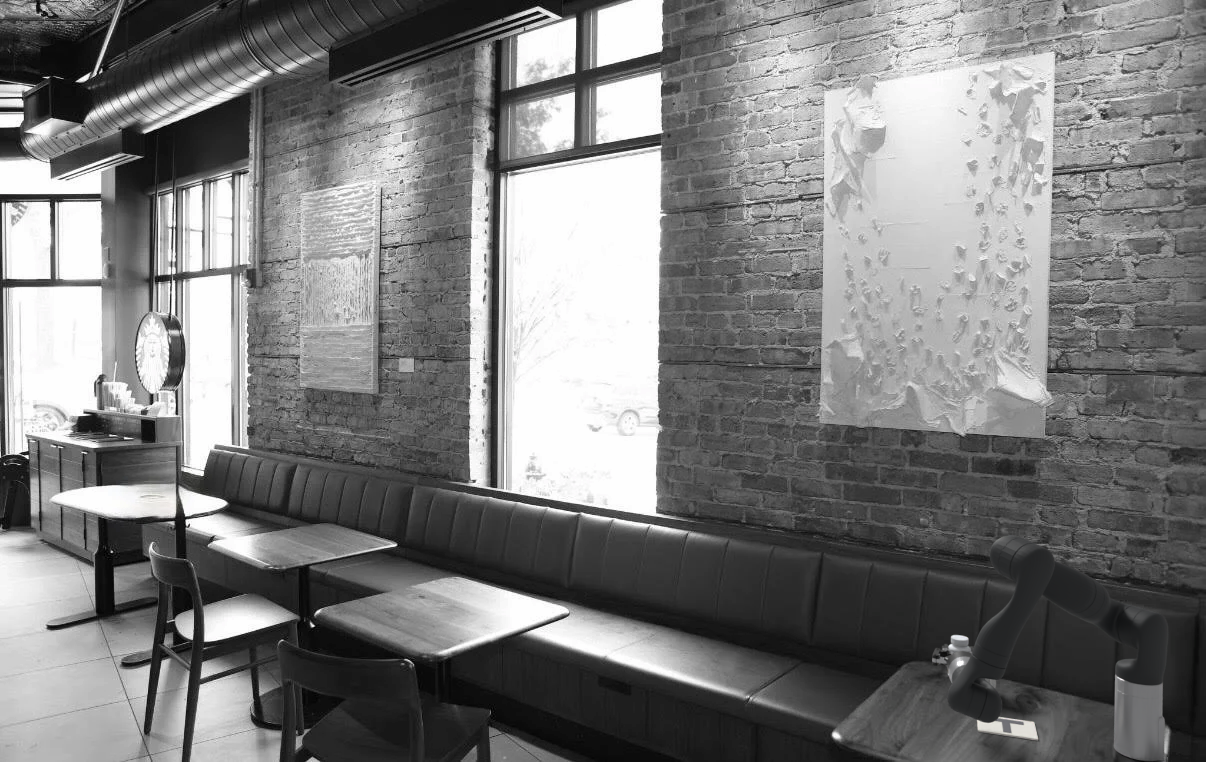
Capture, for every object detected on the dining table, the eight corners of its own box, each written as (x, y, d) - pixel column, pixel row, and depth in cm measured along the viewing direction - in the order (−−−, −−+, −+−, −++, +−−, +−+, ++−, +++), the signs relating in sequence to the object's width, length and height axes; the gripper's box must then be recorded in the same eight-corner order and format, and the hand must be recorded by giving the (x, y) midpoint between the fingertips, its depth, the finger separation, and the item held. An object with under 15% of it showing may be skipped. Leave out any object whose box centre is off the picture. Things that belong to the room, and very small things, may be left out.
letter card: (1034, 723, 209) (1034, 721, 209) (1038, 740, 199) (1038, 738, 199) (976, 715, 214) (976, 713, 214) (977, 731, 204) (977, 729, 204)
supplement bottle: (946, 678, 208) (946, 639, 208) (948, 671, 213) (949, 632, 212) (970, 682, 205) (970, 642, 205) (972, 675, 210) (972, 635, 210)
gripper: (1000, 660, 193) (990, 636, 209) (932, 653, 197) (927, 631, 213) (1000, 692, 193) (989, 666, 209) (932, 685, 197) (927, 661, 214)
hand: (958, 649), depth 211 cm, fingers closed on supplement bottle, 5 cm apart
